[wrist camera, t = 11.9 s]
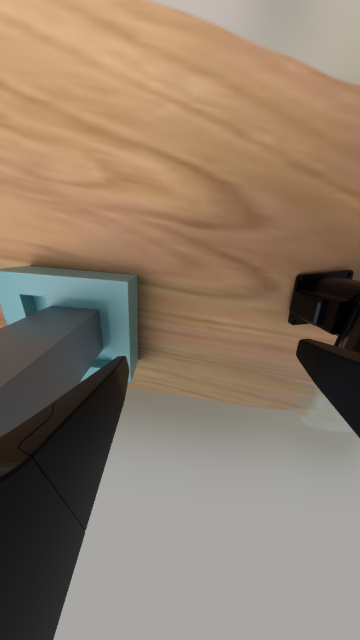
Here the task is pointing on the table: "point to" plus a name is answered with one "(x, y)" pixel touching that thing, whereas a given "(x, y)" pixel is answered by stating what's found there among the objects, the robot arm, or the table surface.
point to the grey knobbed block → (44, 359)
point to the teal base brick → (78, 304)
